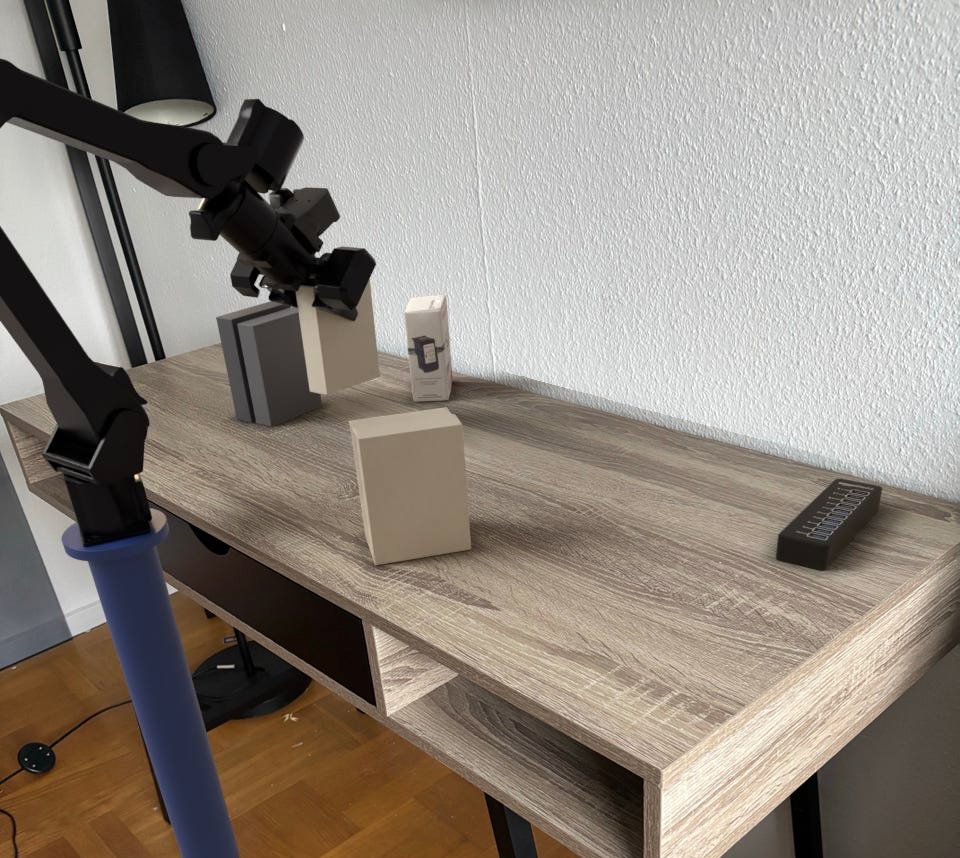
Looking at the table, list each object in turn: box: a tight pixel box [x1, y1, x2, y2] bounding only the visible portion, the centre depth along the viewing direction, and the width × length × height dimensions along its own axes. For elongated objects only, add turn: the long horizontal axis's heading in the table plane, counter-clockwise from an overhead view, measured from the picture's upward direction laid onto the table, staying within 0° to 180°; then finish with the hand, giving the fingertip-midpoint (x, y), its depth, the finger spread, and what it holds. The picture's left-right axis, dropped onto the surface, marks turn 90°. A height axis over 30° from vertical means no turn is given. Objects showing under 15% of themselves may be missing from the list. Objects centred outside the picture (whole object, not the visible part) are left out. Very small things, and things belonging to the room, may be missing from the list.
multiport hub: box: [775, 478, 883, 571], centre depth 85 cm, size 4×14×2 cm, turn 143°
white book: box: [296, 278, 381, 396], centre depth 111 cm, size 9×3×12 cm, turn 142°
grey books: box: [216, 300, 324, 427], centre depth 121 cm, size 10×6×13 cm
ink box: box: [403, 294, 454, 403], centre depth 125 cm, size 8×5×12 cm, turn 178°
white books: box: [348, 406, 472, 566], centre depth 86 cm, size 9×6×12 cm
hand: (345, 315), depth 111 cm, fingers closed on white book, 3 cm apart
